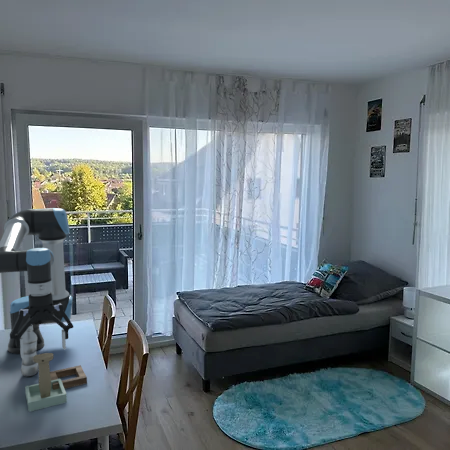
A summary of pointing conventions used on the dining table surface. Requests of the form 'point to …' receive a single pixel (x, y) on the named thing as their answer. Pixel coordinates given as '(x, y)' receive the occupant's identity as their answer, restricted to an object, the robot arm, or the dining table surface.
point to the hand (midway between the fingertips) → (43, 352)
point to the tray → (55, 397)
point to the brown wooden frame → (72, 382)
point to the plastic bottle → (29, 353)
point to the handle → (44, 373)
